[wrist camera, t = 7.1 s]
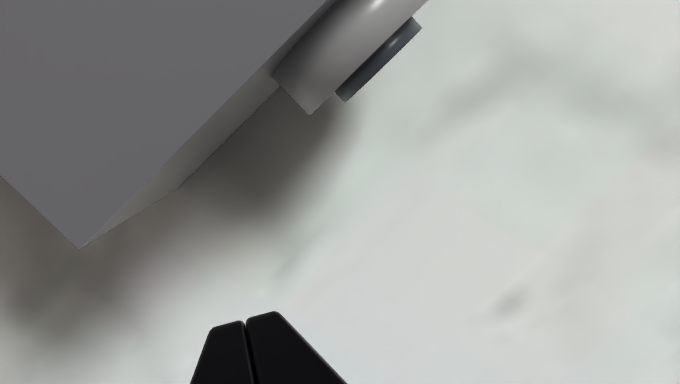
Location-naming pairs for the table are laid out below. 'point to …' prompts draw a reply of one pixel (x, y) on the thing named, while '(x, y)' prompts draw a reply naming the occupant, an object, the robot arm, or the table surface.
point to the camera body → (163, 89)
